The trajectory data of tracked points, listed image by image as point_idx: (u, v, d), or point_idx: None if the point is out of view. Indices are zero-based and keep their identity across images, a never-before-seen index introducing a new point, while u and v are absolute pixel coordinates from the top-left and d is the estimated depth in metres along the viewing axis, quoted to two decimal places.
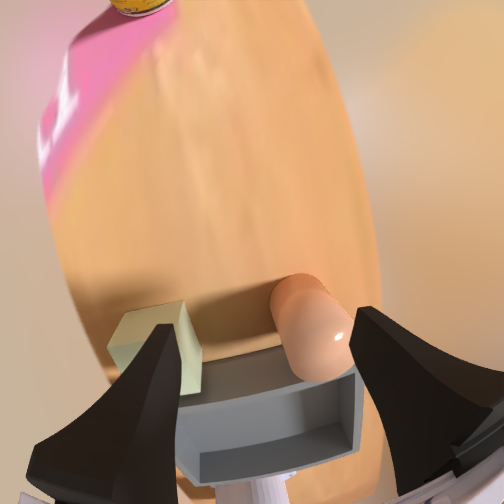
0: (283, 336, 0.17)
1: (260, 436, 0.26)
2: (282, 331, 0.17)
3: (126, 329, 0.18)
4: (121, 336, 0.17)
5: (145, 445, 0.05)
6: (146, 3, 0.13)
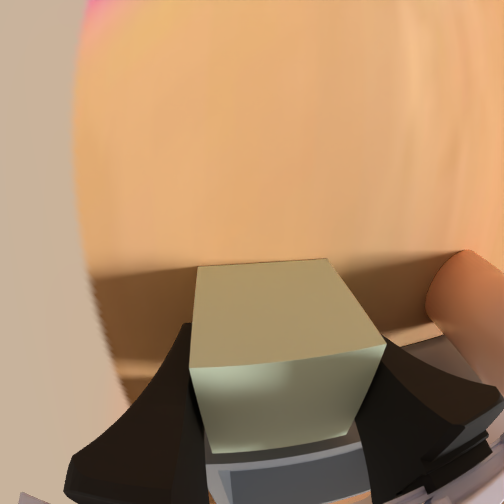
0: (495, 341, 0.08)
1: None
2: (491, 333, 0.08)
3: (228, 314, 0.08)
4: (224, 335, 0.07)
5: (188, 447, 0.05)
6: None
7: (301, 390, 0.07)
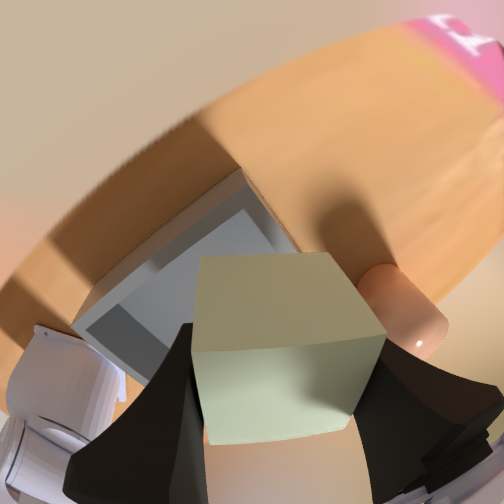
0: (412, 301, 0.16)
1: None
2: (410, 297, 0.17)
3: (230, 301, 0.08)
4: (226, 320, 0.07)
5: (186, 447, 0.05)
6: None
7: (302, 379, 0.07)
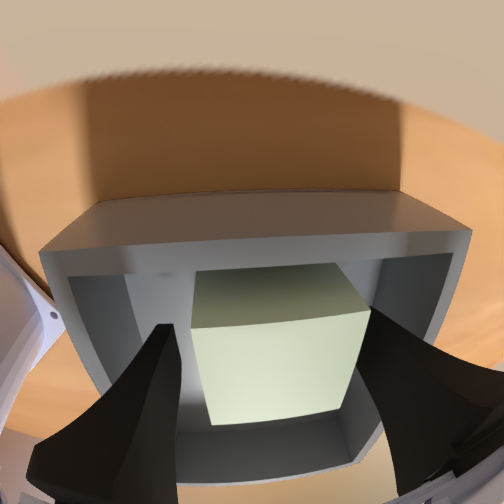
0: None
1: None
2: None
3: (226, 285, 0.09)
4: (222, 302, 0.08)
5: (145, 445, 0.05)
6: None
7: (293, 355, 0.08)
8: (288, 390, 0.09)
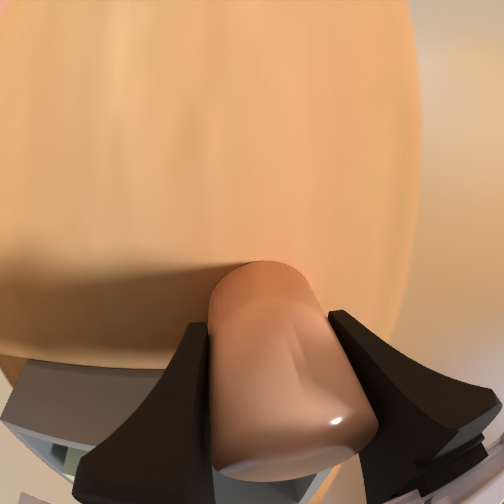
0: (210, 398, 0.07)
1: None
2: (211, 385, 0.08)
3: None
4: None
5: (197, 447, 0.05)
6: None
7: None
8: None
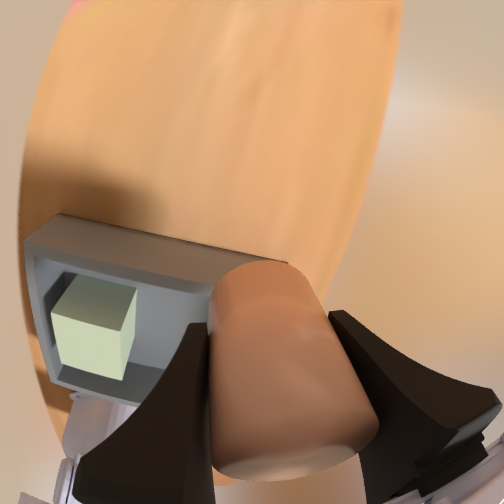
0: (211, 397, 0.07)
1: (144, 354, 0.23)
2: (211, 383, 0.08)
3: None
4: None
5: (196, 447, 0.05)
6: None
7: (71, 342, 0.16)
8: (94, 349, 0.16)
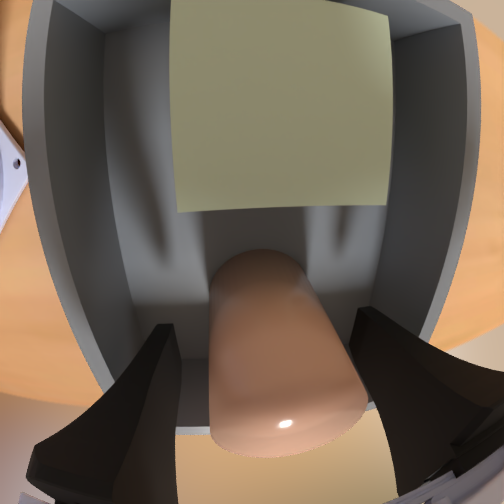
0: (211, 369, 0.08)
1: (145, 201, 0.11)
2: (212, 357, 0.08)
3: None
4: None
5: (145, 445, 0.05)
6: None
7: (304, 45, 0.05)
8: (304, 121, 0.06)
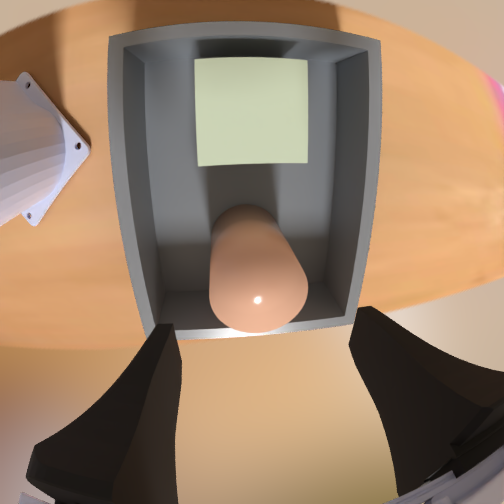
0: (211, 263, 0.14)
1: (171, 171, 0.17)
2: (212, 258, 0.15)
3: None
4: None
5: (145, 445, 0.05)
6: None
7: (259, 84, 0.11)
8: (259, 122, 0.12)
